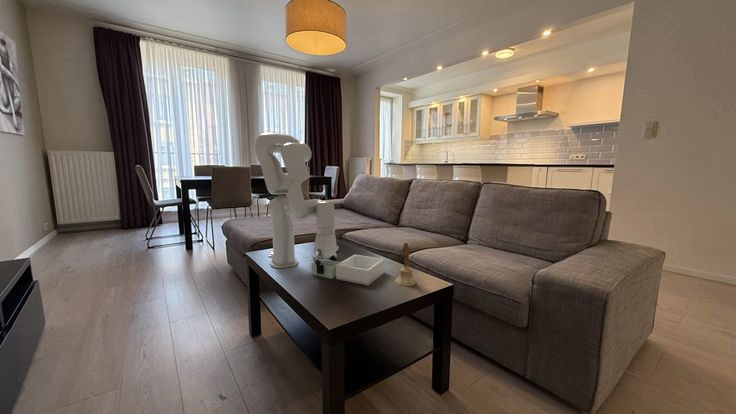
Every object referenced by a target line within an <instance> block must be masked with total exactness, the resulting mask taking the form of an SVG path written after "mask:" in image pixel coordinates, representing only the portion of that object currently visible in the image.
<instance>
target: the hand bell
mask: <svg viewBox="0 0 736 414" xmlns="http://www.w3.org/2000/svg"><path fill="white" fill-rule="evenodd" d="M409 255H410V247H409V244H408V243H407V242H404V244H403V246H402V256H403V267H400V270H399V275H398V276H397V278H396V279H395V282H394V283H396V285H399V286H402V287H412V286H414V285H416V284H417V280H416V279H415V278H414V276H413V270H412V268H410V267H409Z"/></svg>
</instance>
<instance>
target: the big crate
mask: <svg viewBox="0 0 736 414" xmlns="http://www.w3.org/2000/svg"><path fill="white" fill-rule="evenodd" d="M339 262H340V263H339V264H337V265H336V277H335V279H336V280H339V281H345V282H349V283H354V284H360V285H363V286H364V285H365V286H370V285H371V284H372V283H373V282H375V281H377V280H378V278H380V277H381V276H382V275H383V274H385V269H386V267H385V266H386V264H385V262H386V261H385V258H379V257H373V256H367V255H361V254H353V255H352V256H350V257H348V258H346V259H344V260H342V261H339Z"/></svg>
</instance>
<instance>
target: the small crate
mask: <svg viewBox="0 0 736 414" xmlns="http://www.w3.org/2000/svg"><path fill="white" fill-rule="evenodd" d="M319 261H320V262H321V259H320V260H319ZM340 262H341V261H331V260H330V259H324V261H323V264H322V265H324V274H323V275H322V274H317V269H316V264H315V262H314V261H313V262H312V263H311V276H316V277H321V278H325V279H330V280H332V279H334V278H336V265H337V264H339V263H340Z"/></svg>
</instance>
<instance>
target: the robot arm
mask: <svg viewBox="0 0 736 414" xmlns="http://www.w3.org/2000/svg"><path fill="white" fill-rule="evenodd" d="M254 151H255V152H254V153H255V155H256V158H257V161H259V165H260V167H261V173H262V175H263V179H264V182H265V186H266V189H267V191H268V193H269V194H271V195H282V194H283V195H284V194H286V195H284V196H278V197H274V198H272V199H271V200H270V201H269V203H268V211H269V215H270V220H271V231H272V252H270V253H269V255H268V259H271V261H270V262H269V263H270V267H272V268H274V269H286V268H292V267H295V266H298V264H299V260H298V258H295V257H296V256H295V253H296V252H295V231H294V223H293V221H292V219H291V218H290V217H293V216H295V218H297V219H299V220H306V219H309V218H314V217H315V221H316V222H315V223H316V235H315V238H314V239H315V241H314V254H313V255H312V259H313V263H314V262H315V264H316V269H317V274H322V275H323V274H324V265H322V264H323V261H324V259H325V260H328V259H329V260H331V261H337V258H338V253H339V248H340V247H339V245H337V239H336V228H335V227H336V225H335V224H336V222H335V218H336V217H335V203H334V201H332V200H322V199H319V198H312V199H311V198H310V199H305V198H304V194H303V190H302V185H303V184H302V183H303V182H304V181H306V180H307V179H308V178H309V177H310V172H309V170H308V169H309V168H308V167H307V164H306V163H308V162H309V161H311V159H312V154H313V153H312V150H311V147H310V146H309V145H308V144H306V143H305V142H303V141H301V140H299V139H298V138H296V137H294V136H292V135H289V134H281V133H275V132H264V133H261V134H259V135H258V136H257V137H256V140H255V143H254ZM274 153H276V154H277V153H278V154H280V156H281V159H282V161H283V164H284V166H285V170H286V172H284V171H283V169H282V166H281V165H282V164H281V162H280V160H279V159H278V158H277V157H276V155H275V154H274ZM320 259H321V262H320V261H319V260H320ZM337 262H338V261H337Z"/></svg>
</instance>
